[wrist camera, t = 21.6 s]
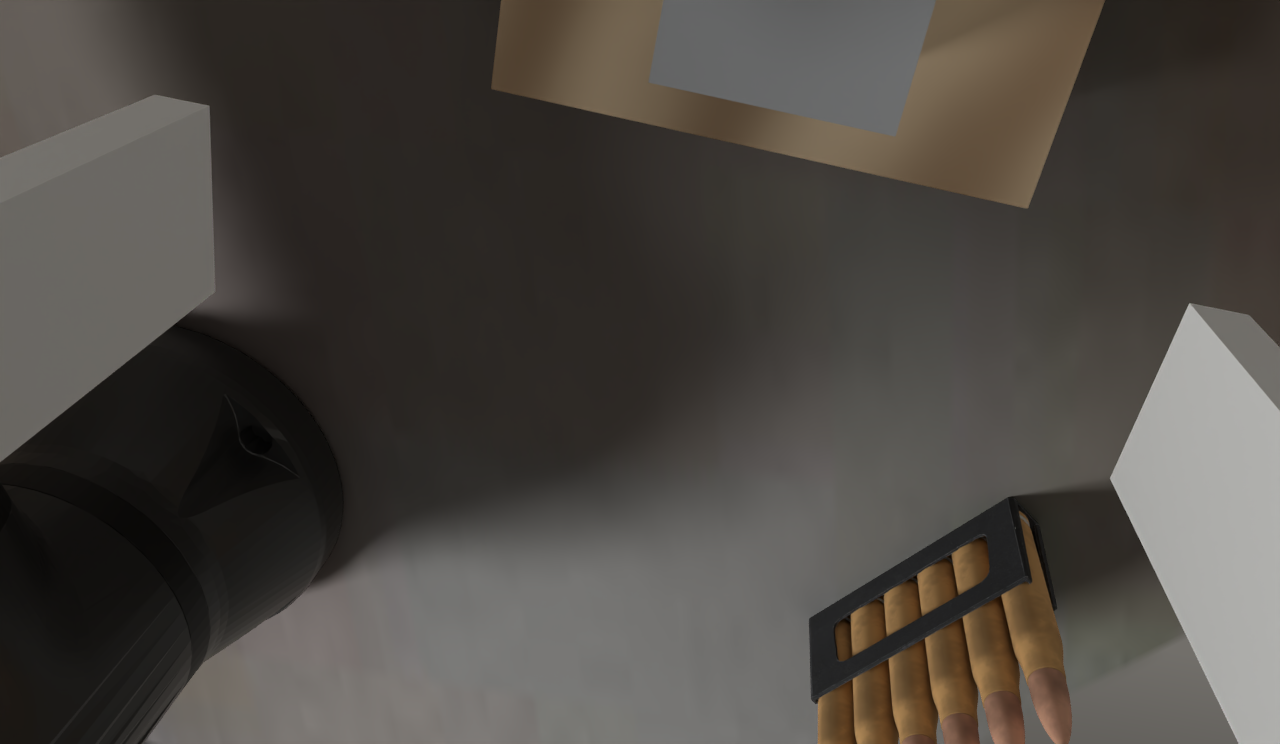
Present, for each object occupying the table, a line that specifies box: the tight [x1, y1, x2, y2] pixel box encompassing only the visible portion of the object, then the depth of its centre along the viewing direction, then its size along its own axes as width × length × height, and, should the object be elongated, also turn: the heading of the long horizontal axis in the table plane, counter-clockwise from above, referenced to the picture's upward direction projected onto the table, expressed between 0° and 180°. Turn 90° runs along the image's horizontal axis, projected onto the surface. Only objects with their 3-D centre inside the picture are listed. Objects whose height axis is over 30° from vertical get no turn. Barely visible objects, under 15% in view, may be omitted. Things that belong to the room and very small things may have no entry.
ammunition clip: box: [809, 498, 1072, 744], centre depth 40 cm, size 11×2×12 cm, turn 134°
